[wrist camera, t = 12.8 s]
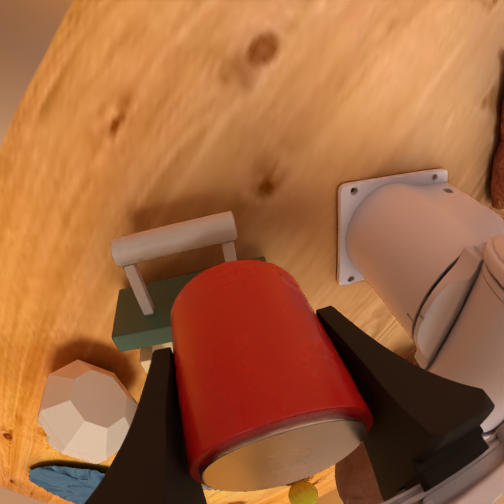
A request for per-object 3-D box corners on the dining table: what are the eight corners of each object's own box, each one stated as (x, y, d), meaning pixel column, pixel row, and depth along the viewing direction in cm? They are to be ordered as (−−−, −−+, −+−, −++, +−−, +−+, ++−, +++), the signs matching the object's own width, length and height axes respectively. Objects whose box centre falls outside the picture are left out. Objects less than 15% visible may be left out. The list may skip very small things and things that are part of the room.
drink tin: (300, 244, 12) (396, 384, 7) (302, 341, 15) (360, 460, 10) (152, 278, 11) (160, 452, 6) (189, 370, 14) (214, 502, 9)
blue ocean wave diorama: (117, 509, 51) (118, 527, 47) (4, 465, 34) (1, 488, 30) (221, 494, 47) (225, 518, 43) (92, 450, 30) (90, 487, 26)
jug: (280, 414, 33) (363, 644, 8) (444, 303, 29) (591, 517, 4) (347, 445, 44) (409, 589, 19) (457, 371, 41) (543, 508, 16)
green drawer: (91, 224, 17) (72, 266, 13) (254, 185, 18) (276, 218, 14) (179, 402, 26) (183, 442, 23) (280, 379, 27) (294, 418, 24)
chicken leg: (23, 407, 26) (40, 476, 22) (34, 343, 18) (59, 462, 13) (86, 405, 32) (105, 469, 28) (136, 344, 24) (170, 444, 19)
